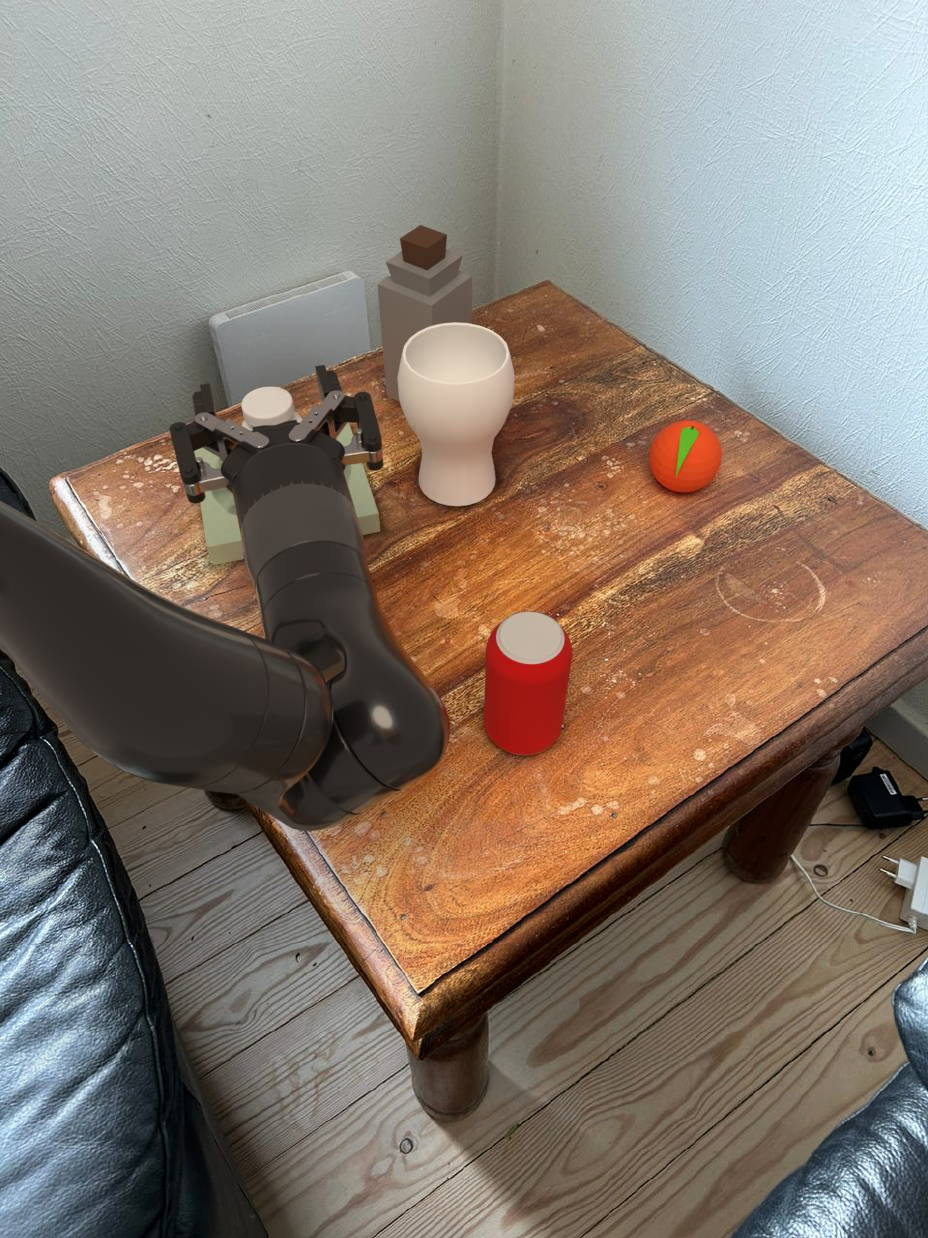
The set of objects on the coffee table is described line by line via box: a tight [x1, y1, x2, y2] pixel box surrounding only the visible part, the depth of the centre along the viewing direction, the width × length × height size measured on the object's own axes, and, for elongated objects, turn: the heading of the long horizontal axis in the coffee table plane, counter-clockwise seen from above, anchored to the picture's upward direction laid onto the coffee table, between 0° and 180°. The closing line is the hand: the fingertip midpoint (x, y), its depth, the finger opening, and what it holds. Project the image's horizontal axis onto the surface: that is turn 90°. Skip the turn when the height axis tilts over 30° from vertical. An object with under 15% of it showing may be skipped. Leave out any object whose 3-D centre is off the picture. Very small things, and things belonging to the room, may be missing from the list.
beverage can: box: [483, 610, 573, 756], centre depth 69 cm, size 6×6×12 cm
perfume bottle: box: [377, 224, 473, 403], centre depth 95 cm, size 7×7×18 cm
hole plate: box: [194, 422, 381, 566], centre depth 91 cm, size 16×16×2 cm
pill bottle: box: [240, 386, 304, 431], centre depth 87 cm, size 6×6×11 cm
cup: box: [397, 322, 515, 507], centre depth 87 cm, size 11×11×15 cm
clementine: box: [648, 420, 723, 493], centre depth 89 cm, size 8×7×7 cm
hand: (264, 384), depth 69 cm, fingers open, 8 cm apart
